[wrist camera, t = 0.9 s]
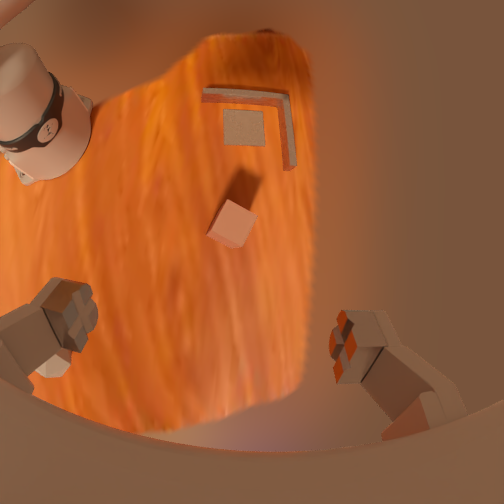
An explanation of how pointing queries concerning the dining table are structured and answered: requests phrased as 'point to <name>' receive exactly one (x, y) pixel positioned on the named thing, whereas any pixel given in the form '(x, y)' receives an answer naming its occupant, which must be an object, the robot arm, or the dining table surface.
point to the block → (232, 225)
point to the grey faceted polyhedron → (56, 364)
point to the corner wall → (254, 119)
